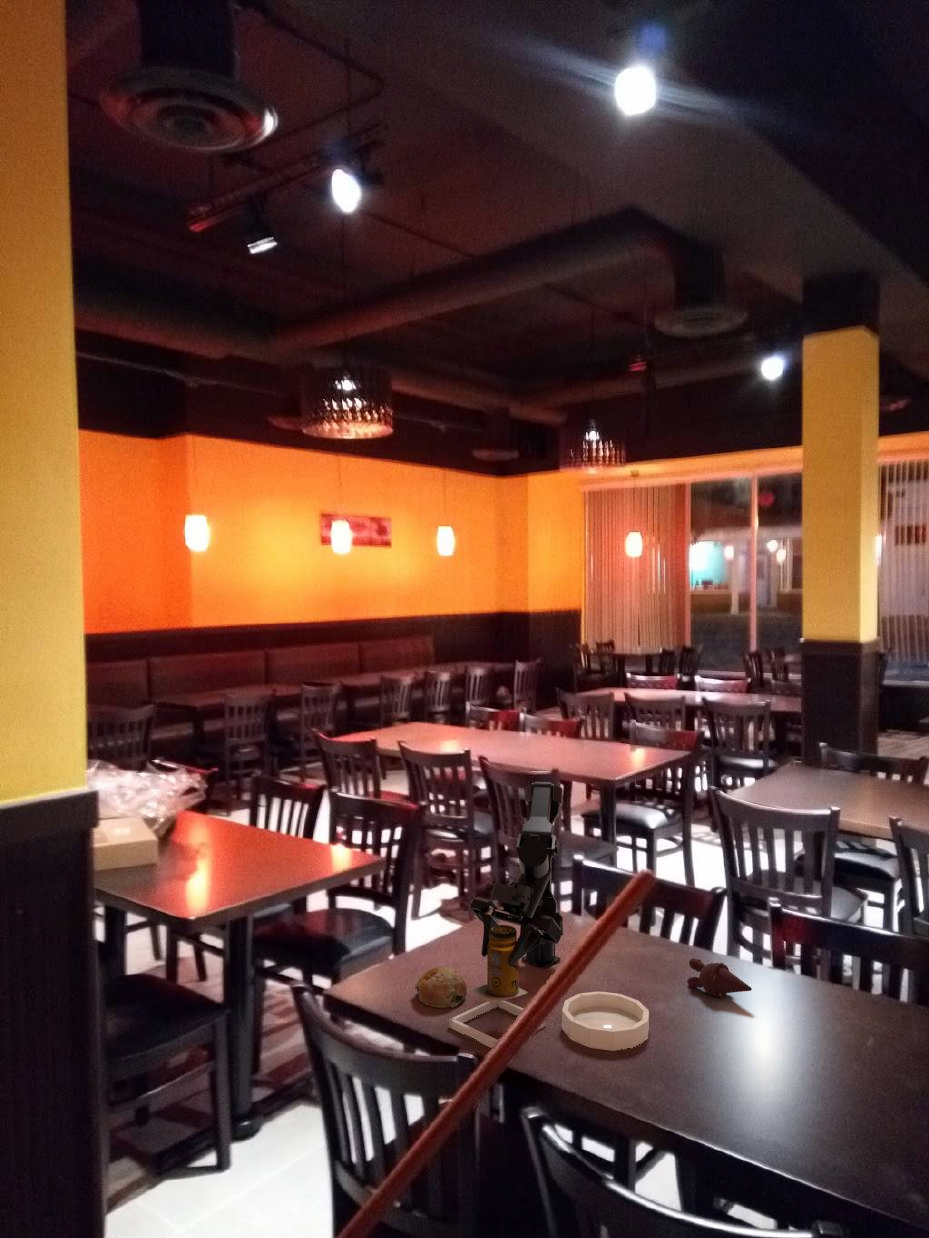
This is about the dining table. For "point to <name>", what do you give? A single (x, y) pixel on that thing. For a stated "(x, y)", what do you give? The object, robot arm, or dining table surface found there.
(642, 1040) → the bowl
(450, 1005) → the bread roll
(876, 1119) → the dining table surface
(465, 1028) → the square frame
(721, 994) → the icecream
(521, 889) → the robot arm
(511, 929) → the condiment
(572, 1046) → the dining table surface
